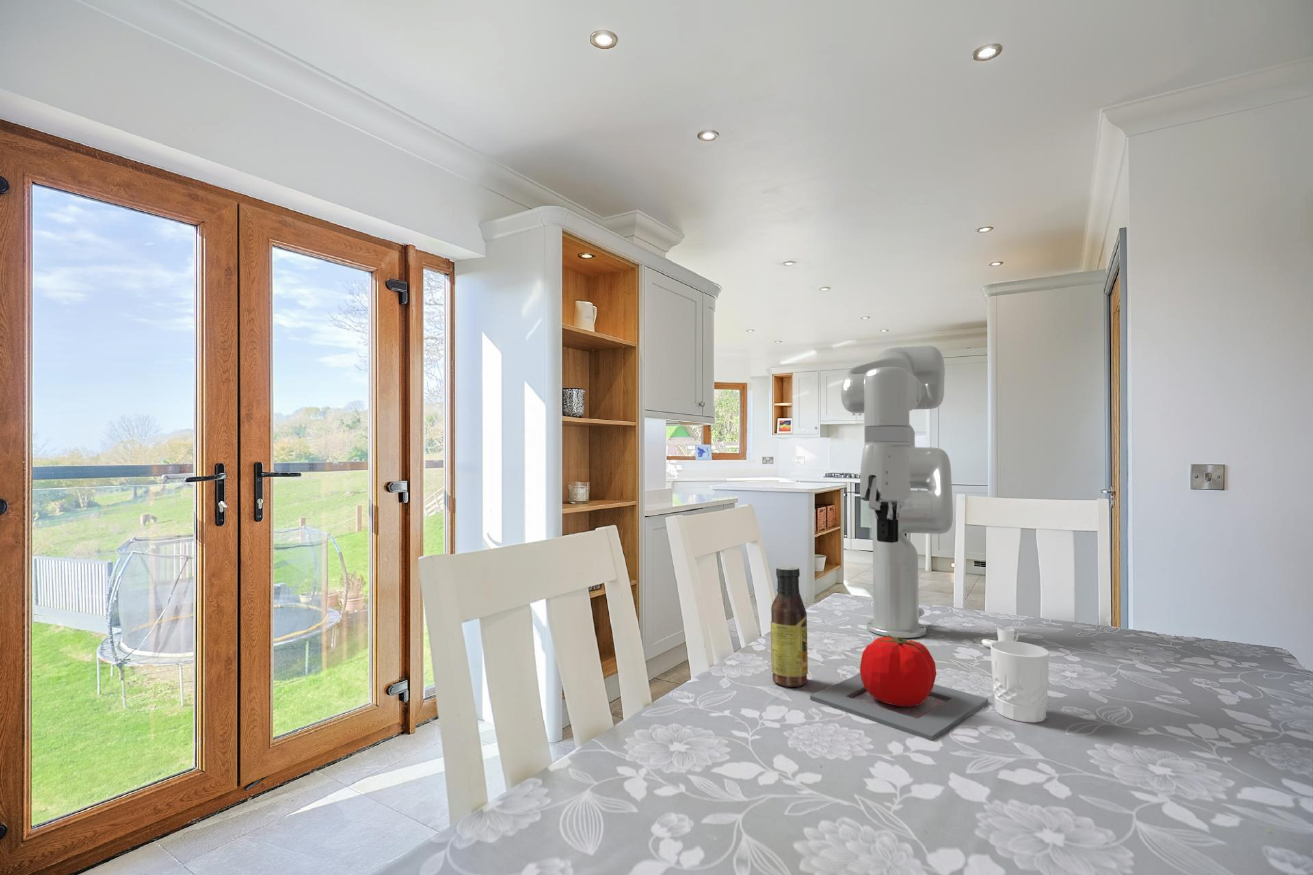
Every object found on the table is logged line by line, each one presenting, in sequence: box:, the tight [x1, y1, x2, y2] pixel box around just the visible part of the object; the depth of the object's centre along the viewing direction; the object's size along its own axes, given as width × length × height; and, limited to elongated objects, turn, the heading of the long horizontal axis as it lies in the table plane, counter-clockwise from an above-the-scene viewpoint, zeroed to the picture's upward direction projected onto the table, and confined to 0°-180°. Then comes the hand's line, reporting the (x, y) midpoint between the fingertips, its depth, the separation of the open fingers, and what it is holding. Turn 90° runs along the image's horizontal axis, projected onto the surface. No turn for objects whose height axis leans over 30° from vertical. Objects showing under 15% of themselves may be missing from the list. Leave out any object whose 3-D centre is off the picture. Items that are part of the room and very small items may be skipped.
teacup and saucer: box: [981, 626, 1020, 649], centre depth 132 cm, size 9×8×4 cm
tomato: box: [859, 634, 937, 708], centre depth 103 cm, size 12×12×10 cm
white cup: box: [989, 641, 1050, 724], centre depth 98 cm, size 8×8×10 cm
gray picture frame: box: [809, 673, 989, 741], centre depth 103 cm, size 20×20×1 cm
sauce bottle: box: [770, 565, 809, 688], centre depth 112 cm, size 6×6×20 cm
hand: (887, 541), depth 112 cm, fingers closed
